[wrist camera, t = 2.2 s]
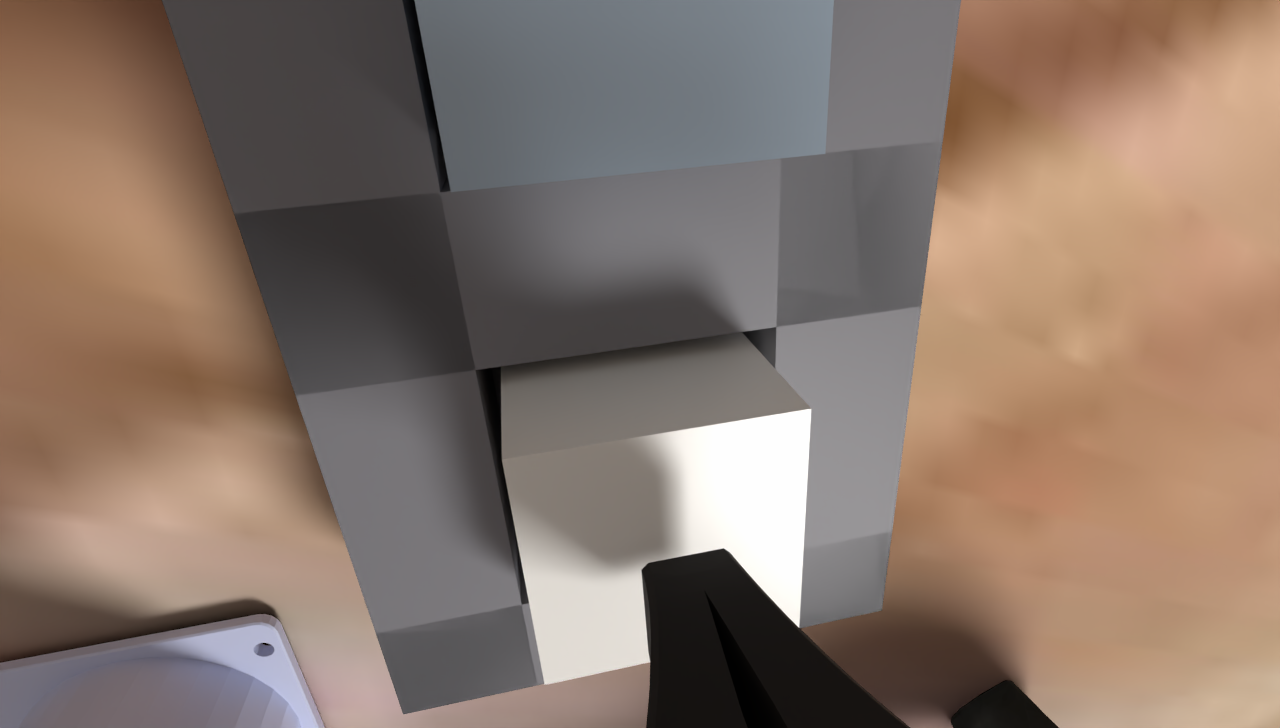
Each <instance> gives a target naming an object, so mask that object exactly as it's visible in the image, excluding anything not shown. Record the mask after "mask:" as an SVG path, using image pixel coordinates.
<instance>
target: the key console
mask: <svg viewBox="0 0 1280 728" xmlns="http://www.w3.org/2000/svg"><path fill="white" fill-rule="evenodd" d="M162 2H163V5H164V8H165V11H166V14H167V17H168V20H169V23H170V26H171V29H172V32H173V35H174V37H175V40H176V43H177V46H178V49H179V52H180V55H181V58H182V61H183V64H184V67H185V70H186V73H187V76H188V79H189V82H190V85H191V88H192V91H193V94H194V97H195V100H196V103H197V106H198V108H199V111H200V114H201V117H202V120H203V123H204V126H205V129H206V132H207V135H208V138H209V141H210V144H211V147H212V150H213V153H214V156H215V159H216V162H217V165H218V168H219V171H220V174H221V177H222V179H223V182H224V185H225V188H226V191H227V194H228V197H229V200H230V203H231V206H232V209H233V212H234V215H235V218H236V221H237V224H238V227H239V230H240V233H241V236H242V239H243V242H244V245H245V248H246V250H247V253H248V256H249V259H250V262H251V265H252V268H253V271H254V274H255V277H256V280H257V283H258V286H259V289H260V292H261V295H262V298H263V301H264V304H265V307H266V310H267V313H268V316H269V319H270V321H271V324H272V327H273V330H274V333H275V336H276V339H277V342H278V345H279V348H280V351H281V354H282V357H283V360H284V363H285V366H286V369H287V372H288V375H289V378H290V381H291V384H292V387H293V390H294V392H295V395H296V398H297V401H298V404H299V407H300V410H301V413H302V416H303V419H304V422H305V425H306V428H307V431H308V434H309V437H310V440H311V443H312V446H313V449H314V452H315V455H316V458H317V461H318V463H319V466H320V469H321V472H322V475H323V478H324V481H325V484H326V487H327V490H328V493H329V496H330V499H331V502H332V505H333V508H334V511H335V514H336V517H337V520H338V523H339V526H340V529H341V531H342V534H343V537H344V540H345V543H346V546H347V549H348V552H349V555H350V558H351V561H352V564H353V567H354V570H355V573H356V576H357V579H358V582H359V585H360V588H361V591H362V594H363V597H364V600H365V602H366V605H367V608H368V611H369V614H370V617H371V620H372V623H373V626H374V629H375V632H376V635H377V638H378V641H379V644H380V647H381V650H382V653H383V656H384V659H385V662H386V665H387V668H388V671H389V673H390V676H391V679H392V682H393V685H394V688H395V691H396V694H397V697H398V700H399V703H400V706H401V709H402V712H403V714H407V713H412V712H416V711H421V710H426V709H430V708H435V707H439V706H444V705H449V704H453V703H458V702H462V701H467V700H472V699H476V698H481V697H485V696H490V695H495V694H499V693H504V692H509V691H513V690H518V689H522V688H527V687H532V686H536V685H541V684H544V679H543V673H542V668H541V663H540V658H539V652H538V647H537V642H536V637H535V631H534V626H533V621H532V616H531V610H530V605H529V600H528V595H527V589H526V584H525V579H524V574H523V568H522V563H521V558H520V553H519V547H518V542H517V537H516V532H515V526H514V521H513V516H512V511H511V505H510V500H509V495H508V489H507V484H506V479H505V474H504V468H503V463H502V434H501V366H508V365H515V364H522V363H529V362H536V361H543V360H550V359H557V358H564V357H571V356H578V355H585V354H592V353H599V352H606V351H613V350H620V349H627V348H634V347H641V346H648V345H655V344H662V343H669V342H676V341H683V340H689V339H696V338H703V337H710V336H717V335H724V334H731V333H738V332H742V333H743V334H744V335H745V336H746V337H747V338H748V339H749V341H750V342H751V343H752V344H753V345H754V346H755V347H756V348H757V349H758V350H759V352H760V353H761V354H762V355H763V356H764V357H765V358H766V359H767V360H768V361H769V363H770V364H771V365H772V366H773V367H774V368H775V369H776V370H777V371H778V372H779V374H780V375H781V376H782V377H783V378H784V379H785V380H786V381H787V382H788V383H789V385H790V386H791V387H792V388H793V389H794V390H795V391H796V392H797V393H798V395H799V396H800V397H801V398H802V399H803V400H804V401H805V402H806V403H807V404H808V406H809V407H810V408H811V424H810V442H809V460H808V478H807V496H806V514H805V532H804V550H803V568H802V587H801V605H800V623H799V628H803V627H808V626H812V625H817V624H822V623H826V622H831V621H835V620H840V619H845V618H849V617H854V616H858V615H863V614H868V613H872V612H877V611H882V605H883V597H884V590H885V582H886V574H887V567H888V559H889V551H890V543H891V536H892V528H893V520H894V512H895V505H896V497H897V489H898V482H899V474H900V466H901V458H902V451H903V443H904V435H905V428H906V420H907V412H908V404H909V397H910V389H911V381H912V374H913V366H914V358H915V350H916V343H917V335H918V327H919V320H920V312H921V304H922V296H923V289H924V281H925V273H926V265H927V258H928V250H929V242H930V235H931V227H932V219H933V211H934V204H935V196H936V188H937V181H938V173H939V165H940V157H941V150H942V142H943V134H944V127H945V119H946V111H947V103H948V96H949V88H950V80H951V73H952V65H953V57H954V49H955V42H956V34H957V26H958V18H959V11H960V3H961V0H834V7H833V25H832V43H831V61H830V80H829V98H828V116H827V134H826V152H825V154H819V155H809V156H799V157H790V158H780V159H770V160H760V161H750V162H741V163H731V164H721V165H711V166H702V167H692V168H682V169H672V170H662V171H653V172H643V173H633V174H623V175H614V176H604V177H594V178H584V179H574V180H565V181H555V182H545V183H535V184H526V185H516V186H506V187H496V188H487V189H477V190H467V191H457V192H451V190H450V185H449V179H448V174H447V169H446V164H445V158H444V153H443V148H442V143H441V137H440V132H439V127H438V122H437V116H436V111H435V106H434V101H433V95H432V90H431V85H430V80H429V74H428V69H427V64H426V59H425V53H424V48H423V43H422V37H421V32H420V27H419V22H418V16H417V11H416V6H415V1H414V0H162Z"/></svg>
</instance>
